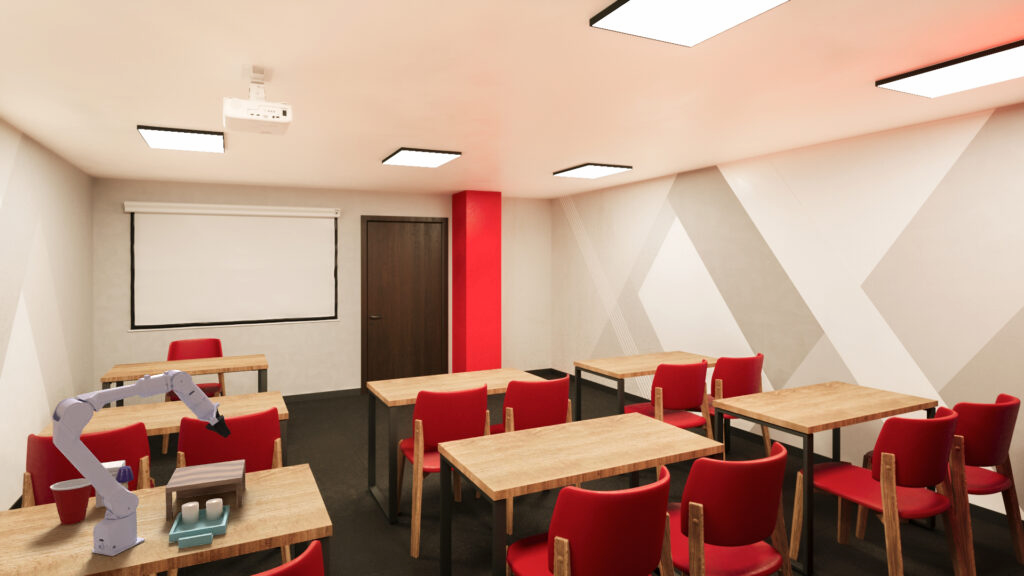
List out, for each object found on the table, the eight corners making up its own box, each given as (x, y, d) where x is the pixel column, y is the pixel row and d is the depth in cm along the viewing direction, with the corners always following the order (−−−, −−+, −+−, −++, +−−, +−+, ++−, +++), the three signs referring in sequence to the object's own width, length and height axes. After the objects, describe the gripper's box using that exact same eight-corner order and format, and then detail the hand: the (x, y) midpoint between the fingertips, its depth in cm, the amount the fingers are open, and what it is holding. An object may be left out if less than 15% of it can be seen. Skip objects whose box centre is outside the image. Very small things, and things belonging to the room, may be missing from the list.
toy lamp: (136, 516, 172) (135, 463, 172) (132, 523, 168) (130, 468, 167) (118, 519, 170) (117, 465, 170) (113, 525, 166) (112, 470, 166)
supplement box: (100, 500, 186) (99, 462, 186) (127, 496, 189) (126, 459, 189) (95, 508, 179) (93, 469, 179) (122, 504, 182) (121, 466, 182)
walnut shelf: (242, 508, 177) (241, 477, 177) (166, 520, 169) (165, 488, 169) (245, 487, 195) (244, 459, 195) (177, 497, 187) (176, 468, 187)
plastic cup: (104, 513, 175) (103, 476, 174) (74, 529, 164) (73, 489, 164) (73, 512, 176) (72, 475, 176) (41, 528, 165) (40, 488, 165)
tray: (223, 541, 155) (223, 520, 155) (165, 551, 150) (165, 529, 150) (229, 512, 175) (229, 493, 175) (178, 520, 169) (178, 501, 169)
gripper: (214, 399, 165) (242, 430, 171) (204, 385, 176) (231, 415, 182) (192, 416, 162) (221, 446, 168) (183, 400, 173) (211, 430, 179)
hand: (225, 431), depth 175 cm, fingers open, 7 cm apart
